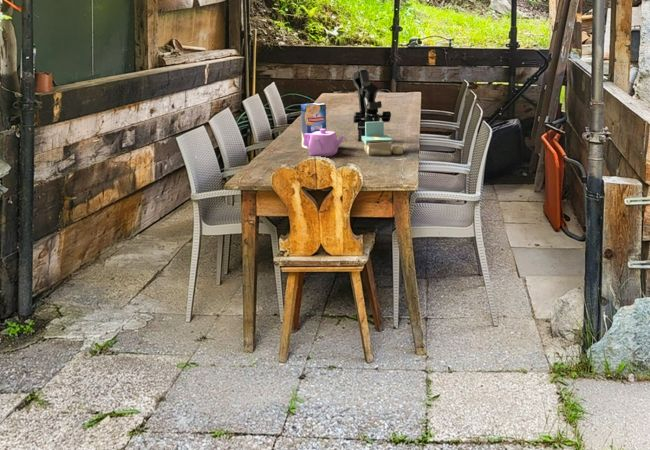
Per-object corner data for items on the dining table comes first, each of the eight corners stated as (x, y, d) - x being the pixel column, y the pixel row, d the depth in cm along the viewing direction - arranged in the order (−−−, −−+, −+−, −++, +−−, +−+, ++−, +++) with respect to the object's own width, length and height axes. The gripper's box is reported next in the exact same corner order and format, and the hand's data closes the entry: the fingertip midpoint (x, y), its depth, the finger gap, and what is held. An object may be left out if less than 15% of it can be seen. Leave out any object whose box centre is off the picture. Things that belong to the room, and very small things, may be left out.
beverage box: (326, 146, 439) (325, 104, 433) (307, 148, 434) (306, 105, 428) (320, 144, 444) (319, 102, 439) (301, 146, 439) (300, 104, 434)
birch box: (364, 150, 424) (364, 139, 423) (385, 150, 426) (386, 138, 424) (369, 155, 411) (368, 143, 409) (391, 154, 412) (391, 142, 411)
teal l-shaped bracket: (361, 139, 426) (361, 122, 423) (386, 139, 427) (386, 121, 425) (366, 144, 412) (366, 126, 410) (392, 143, 413) (392, 125, 411)
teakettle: (329, 149, 430) (329, 125, 426) (346, 154, 415) (346, 129, 412) (300, 153, 422) (299, 128, 419) (316, 158, 407) (315, 132, 404)
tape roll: (391, 153, 415) (391, 147, 414) (393, 152, 420) (393, 145, 419) (402, 154, 414) (402, 147, 413) (403, 152, 419) (403, 146, 418)
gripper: (353, 96, 425) (357, 120, 418) (390, 95, 427) (394, 119, 420) (351, 110, 435) (355, 134, 427) (387, 109, 437) (391, 133, 429)
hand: (374, 130), depth 425 cm, fingers closed, pressing on teal l-shaped bracket
